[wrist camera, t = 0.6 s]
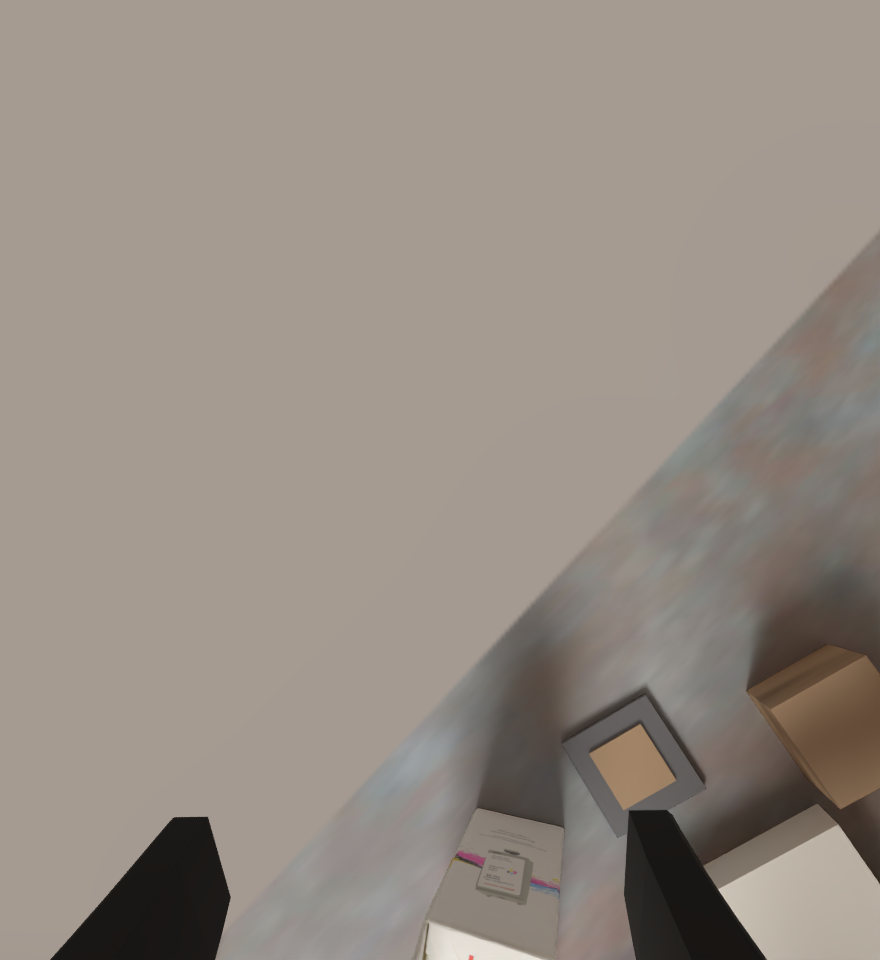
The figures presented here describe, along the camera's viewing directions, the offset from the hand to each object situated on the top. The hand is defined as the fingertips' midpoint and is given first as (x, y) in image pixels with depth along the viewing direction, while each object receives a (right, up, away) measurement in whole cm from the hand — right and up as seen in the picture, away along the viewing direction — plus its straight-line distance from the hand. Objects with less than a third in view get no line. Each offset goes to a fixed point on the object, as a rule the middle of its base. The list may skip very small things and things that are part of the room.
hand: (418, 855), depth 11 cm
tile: (+10, -8, +21) cm, 25 cm away
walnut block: (+19, -5, +20) cm, 27 cm away
